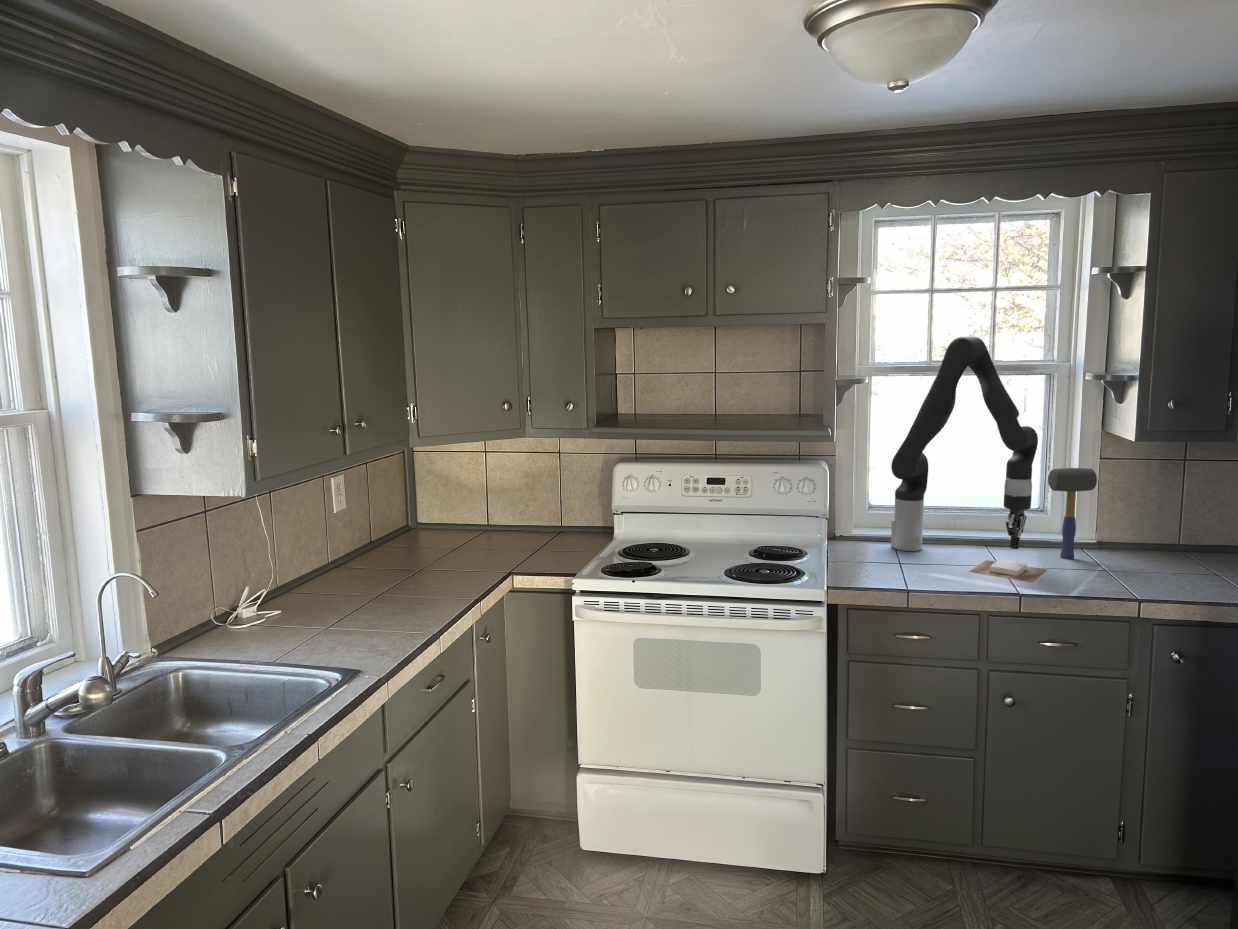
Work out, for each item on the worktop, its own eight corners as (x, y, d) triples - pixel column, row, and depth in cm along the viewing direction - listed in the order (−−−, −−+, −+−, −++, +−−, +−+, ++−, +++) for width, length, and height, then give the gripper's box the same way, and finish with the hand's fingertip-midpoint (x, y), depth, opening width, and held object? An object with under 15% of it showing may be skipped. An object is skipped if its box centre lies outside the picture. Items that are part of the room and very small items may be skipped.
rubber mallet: (1052, 564, 267) (1058, 470, 262) (1041, 558, 274) (1047, 466, 269) (1092, 564, 266) (1099, 469, 261) (1081, 557, 274) (1087, 465, 269)
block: (999, 565, 263) (989, 571, 256) (999, 559, 263) (989, 566, 256) (1026, 569, 258) (1017, 576, 251) (1027, 564, 258) (1018, 570, 251)
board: (968, 575, 257) (968, 571, 257) (985, 563, 269) (986, 560, 269) (1032, 586, 245) (1032, 582, 245) (1047, 573, 257) (1047, 569, 257)
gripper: (1011, 488, 265) (1008, 542, 267) (998, 494, 255) (995, 551, 257) (1037, 490, 260) (1034, 545, 262) (1024, 497, 250) (1021, 555, 253)
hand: (1014, 548), depth 260 cm, fingers closed
